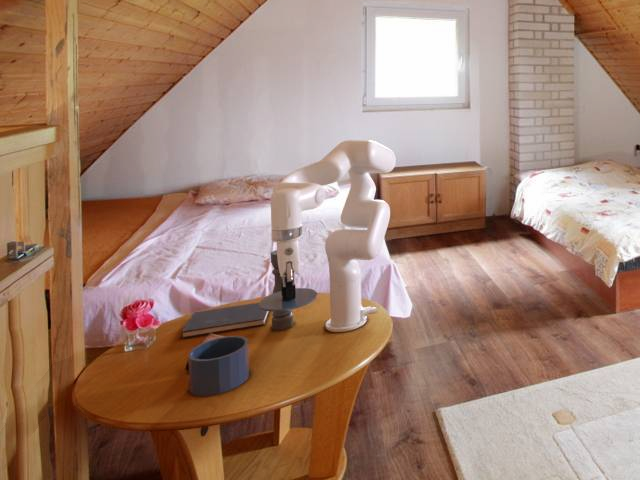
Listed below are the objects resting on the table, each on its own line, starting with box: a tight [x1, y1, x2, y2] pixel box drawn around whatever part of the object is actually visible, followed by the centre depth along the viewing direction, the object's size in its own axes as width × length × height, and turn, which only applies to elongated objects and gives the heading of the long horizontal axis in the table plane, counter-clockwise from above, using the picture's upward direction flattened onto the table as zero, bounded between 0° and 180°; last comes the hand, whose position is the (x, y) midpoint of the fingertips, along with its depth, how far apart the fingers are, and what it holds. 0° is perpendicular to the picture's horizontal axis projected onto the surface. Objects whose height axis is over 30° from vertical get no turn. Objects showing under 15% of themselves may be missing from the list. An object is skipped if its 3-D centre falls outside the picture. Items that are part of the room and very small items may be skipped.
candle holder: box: [270, 249, 294, 332], centre depth 190 cm, size 6×6×25 cm
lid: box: [258, 287, 318, 313], centre depth 163 cm, size 15×15×6 cm
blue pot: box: [187, 335, 250, 397], centre depth 158 cm, size 14×14×10 cm
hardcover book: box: [180, 302, 270, 340], centre depth 194 cm, size 16×23×2 cm
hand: (288, 296), depth 163 cm, fingers closed on lid, 2 cm apart
